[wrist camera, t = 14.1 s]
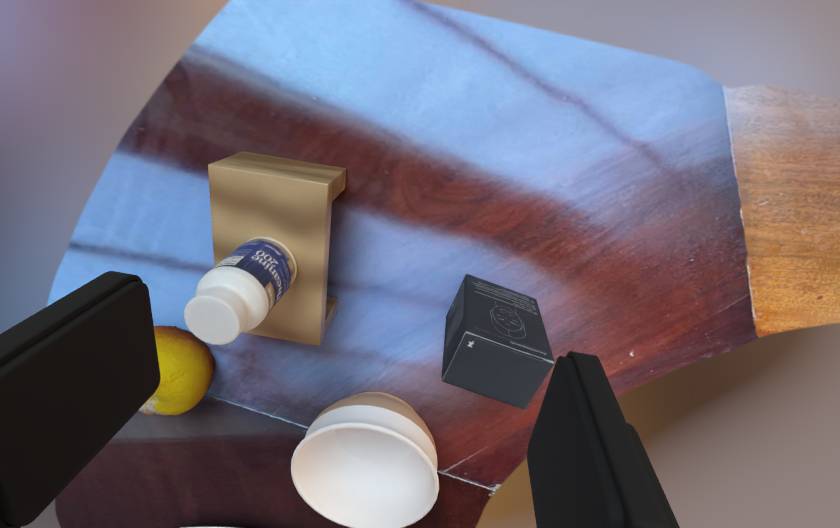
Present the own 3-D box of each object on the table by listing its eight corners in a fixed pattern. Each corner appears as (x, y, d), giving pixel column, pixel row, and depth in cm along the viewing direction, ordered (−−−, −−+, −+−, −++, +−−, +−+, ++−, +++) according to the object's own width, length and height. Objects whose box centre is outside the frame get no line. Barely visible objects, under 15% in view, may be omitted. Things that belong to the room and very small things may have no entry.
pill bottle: (309, 279, 40) (263, 341, 31) (259, 297, 41) (202, 362, 32) (279, 225, 38) (221, 276, 29) (228, 246, 39) (158, 301, 30)
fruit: (128, 304, 50) (97, 351, 43) (227, 322, 53) (213, 368, 46) (120, 378, 54) (90, 431, 48) (211, 390, 58) (196, 441, 51)
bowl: (340, 352, 50) (319, 401, 43) (466, 408, 52) (466, 465, 45) (296, 442, 57) (271, 497, 50) (409, 490, 58) (400, 550, 51)
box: (445, 316, 47) (439, 382, 37) (466, 271, 44) (465, 329, 35) (514, 341, 47) (525, 413, 38) (538, 298, 45) (557, 363, 35)
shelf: (241, 150, 42) (207, 164, 36) (346, 168, 41) (328, 184, 36) (246, 298, 48) (218, 328, 43) (336, 313, 48) (319, 346, 43)
